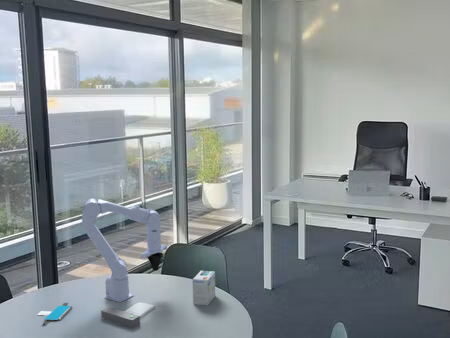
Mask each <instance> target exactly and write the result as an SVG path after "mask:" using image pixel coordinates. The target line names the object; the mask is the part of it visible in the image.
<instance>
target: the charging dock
mask: <svg viewBox="0 0 450 338" xmlns="http://www.w3.org/2000/svg"><path fill="white" fill-rule="evenodd" d="M125 311H126V310H120V309H117V308H114V307H112V306H108V307H106V308H104V309H101V310H100V314H101V316H100V317H101V319H104V320H107V321H109V322H113V323H116V324H118V325H121V326H122V325H123V326H126V327H128V328H131V329H133V328H135V327H137V326H139V325H140V324H141V318H140V316H138V315H135V314H131V313H128V312H125Z"/></svg>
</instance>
